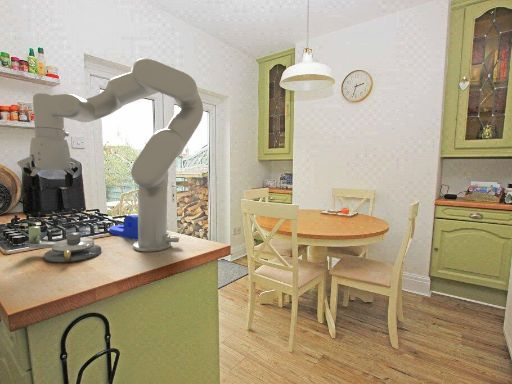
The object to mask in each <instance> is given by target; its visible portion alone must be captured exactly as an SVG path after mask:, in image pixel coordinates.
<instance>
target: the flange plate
mask: <svg viewBox="0 0 512 384" xmlns="http://www.w3.org/2000/svg"><path fill="white" fill-rule="evenodd" d="M41 238H42V235H41V226H40V225H33V226H28V248H29V249H51V250H53V251H54V252H60V253H64V251H66V250H71V252H78V251H83V250H86V249H89V248H91V247H93V246H94V245H95V240H94V239H93V238H87V237H81V232H78V231H77V232H76V231H73V232H68V233H66V239H63V240H59V241H42V239H41Z"/></svg>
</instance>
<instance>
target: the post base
mask: <svg viewBox="0 0 512 384" xmlns="http://www.w3.org/2000/svg"><path fill="white" fill-rule="evenodd" d="M101 254H102V247H101V245H98V244H94V246H93V247H91V248H89V249H86V250H83V251H78V252H71V250H66V251H64V253H60V252H54V251H53V250H52V249H50V250H47V251H46V252H45V253H44V254H43V260H44V261H45V262H47V263H51V264H72V263H80V262H83V261H87V260H90V259H94V258H95V257H97V256H99V255H101Z"/></svg>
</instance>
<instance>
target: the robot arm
mask: <svg viewBox="0 0 512 384" xmlns="http://www.w3.org/2000/svg"><path fill="white" fill-rule="evenodd" d="M157 93H160V94H162V95H165V96H168V97H170V98H173V100H174V101H175V103H176V104H177V106H178V109H177V111H176V112H175V114H173V117H172V118H171V120H170V121H169V123H168V125H167V126H166V127H165V128H163V129H159V130H157V131H155V132H154V134H153V135H152V136H151V137H150V138H149V139H148V141H147V143H146V144H145V146H144V147H143V149H142V151H141V152H140V153H139V155H138V156H137V158H136V159H135V160H134V162H133V164H132V167H131V169H130V172H131V173H130V174H131V178H132V180H133V181H134V183H135V184H136V185H137V186H138V191H137V194H138V195H137V216H138V239H137V241H134V242H133V245H132V248H133V249H134V250H136V251H140V252H144V253H145V252H151V253H152V252H159V251H163V250H167V249H168V248H170V247H171V246H172V243H179V242H180V237H179V236H177V235H170V234H169V233H170V232H169V231H167V229H168V228H167V225H168V221H167V220H168V218H167V216H168V208H167V207H168V187H169V186H168V185H169V184H168V183H169V169H170V168H171V166H172V164H173V163H174V162H175V160H176V159H177V158H179V156H180V155H181V154H182V153H183V151H184V150H185V148H186V146H187V144H188V142H189V141H190V140H191V138H192V136H193V134H194V133H195V131H196V130H197V128H198V126H199V125H200V124H201V121H202V118H203V114H204V106H203V102H202V98H201V96H200V94H199V91H198V86H197V83H196V81H195V80H194V78H193V77H192V76H191V75H189V74H188V73H186V72H184V71H181V70H180V69H177V68H175V67H171V66H169V65H167V64H164V63H162V62H159V61H157V60H155V59H152V58H145V57H143V58H142V57H141V58H139V59H137V60H135V62H134V63H133V64H132V67H131V71H130V72H127V73H124V74H121V75H118V76H115V77H113V78H110V79H108V82H107V84H106V88H105V89H104V90H103V91H101V92H100V93H98V94H96V95H93V96H91V97H88V98H86V99H85V98H83V97H80V96H77V95H75V94H72V93H60V94H51V93H45V92H43V93H42V92H38V93H35V94H34V95H33V97H32V103H33V104H32V105H33V107H32V108H33V121H34V122H33V123H34V137H32V138H31V140H30V146H29V156H27V157H25V158H23V159H20V160H18V161H17V162H16V164H17V166H19V168H20V169H21V171H22V172H23V173H25V174H26V175H27V176H28V180H29V183H28V184H29V186H30V187H31V189H34V190H39V177H38V176H37V174H38V173H39V172H41V171H53V170H54V171H57V170H58V171H60V170H61V171H63V172H64V173H65V175H64V182H65V183H64V185H65V187H68V188H72V187H73V184H74V175H75V173H77V172H78V170H79V168H80V166H81V161H79V160H76V159H74V158H72V157H71V153H70V147H69V143H68V141H67V139H66V137H69V136H70V134H69V132H66V129H65V123H64V120H65V119H70V120H73V121H77V122H80V123H91V122H94V121H97V120H100V119H101V118H104V117H107V116H110V115H112V114H113V113H115V112H117V111H118V110H120V109H121V108H123V107H124V106H126V105H128V104H130V103H134V102H136V101H139V100H142V99H144V98H146V97H149V96H152V95H155V94H157ZM64 118H65V119H64ZM28 163H29V167H30V168H29V167H27V165H26V164H28ZM72 164H73V167H72ZM71 167H72V168H71Z"/></svg>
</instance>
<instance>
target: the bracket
mask: <svg viewBox="0 0 512 384" xmlns="http://www.w3.org/2000/svg"><path fill="white" fill-rule="evenodd" d="M108 229H109V230H108V231H110V232H111V233H112V234H111V235H114V236H119V237H123V238H128V239H133V240H137V241H138V215H136V214H131V215H127V216H125V218H124V219H123V224H116V225H111V226H110V227H109V228H108Z"/></svg>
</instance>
